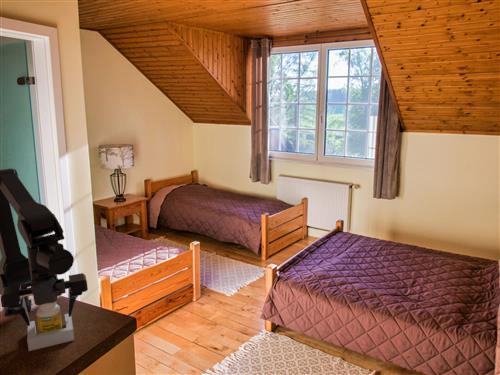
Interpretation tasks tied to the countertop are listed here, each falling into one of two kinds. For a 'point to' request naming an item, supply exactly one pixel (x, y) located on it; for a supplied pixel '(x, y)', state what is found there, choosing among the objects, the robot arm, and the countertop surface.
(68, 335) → the notched board
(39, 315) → the supplement bottle
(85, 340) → the countertop surface
